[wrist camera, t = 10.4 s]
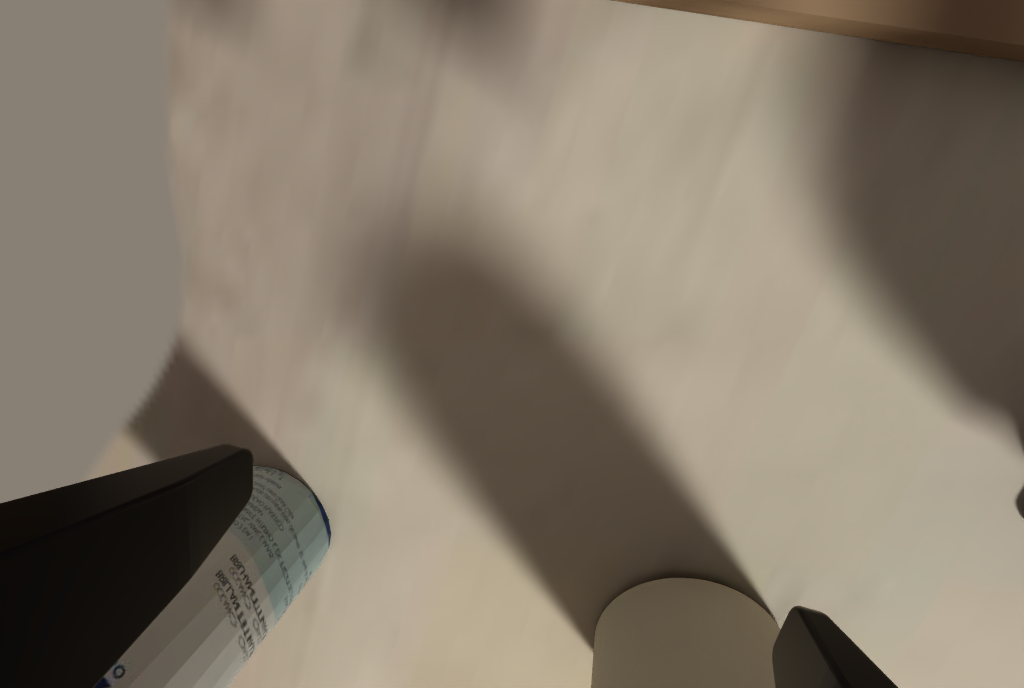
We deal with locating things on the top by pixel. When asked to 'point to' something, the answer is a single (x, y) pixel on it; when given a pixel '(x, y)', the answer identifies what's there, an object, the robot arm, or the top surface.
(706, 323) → the top surface
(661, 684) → the travel mug
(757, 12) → the shelf board
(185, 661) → the spray paint can
